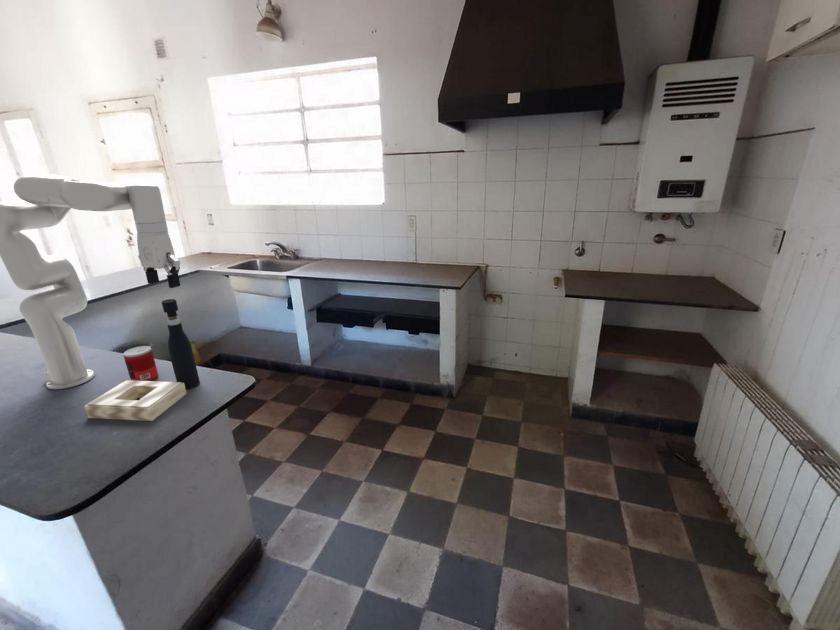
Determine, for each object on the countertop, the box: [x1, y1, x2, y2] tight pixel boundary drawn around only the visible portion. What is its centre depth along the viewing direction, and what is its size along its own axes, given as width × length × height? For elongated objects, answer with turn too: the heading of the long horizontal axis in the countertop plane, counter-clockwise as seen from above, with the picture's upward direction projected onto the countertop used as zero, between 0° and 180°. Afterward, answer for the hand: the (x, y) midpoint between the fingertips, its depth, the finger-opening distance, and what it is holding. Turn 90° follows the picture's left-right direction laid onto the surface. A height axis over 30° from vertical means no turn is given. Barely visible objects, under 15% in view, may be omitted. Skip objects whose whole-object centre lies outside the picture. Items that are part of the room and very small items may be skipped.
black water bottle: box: [161, 298, 201, 391], centre depth 124 cm, size 6×6×30 cm
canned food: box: [122, 345, 159, 381], centre depth 132 cm, size 8×8×11 cm
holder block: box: [84, 379, 188, 422], centre depth 117 cm, size 20×15×4 cm
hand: (164, 284), depth 117 cm, fingers open, 9 cm apart
